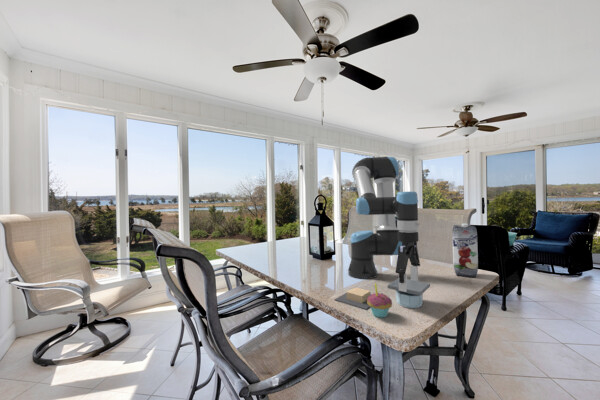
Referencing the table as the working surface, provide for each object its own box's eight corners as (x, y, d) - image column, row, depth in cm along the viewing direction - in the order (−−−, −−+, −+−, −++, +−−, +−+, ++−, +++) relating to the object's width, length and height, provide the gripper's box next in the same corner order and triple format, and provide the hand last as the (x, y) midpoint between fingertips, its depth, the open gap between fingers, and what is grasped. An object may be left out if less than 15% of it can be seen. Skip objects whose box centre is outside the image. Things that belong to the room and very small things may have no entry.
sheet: (387, 288, 97) (387, 285, 97) (399, 280, 106) (399, 277, 106) (420, 295, 89) (420, 292, 89) (430, 286, 98) (429, 283, 98)
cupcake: (382, 322, 83) (381, 286, 83) (362, 313, 90) (361, 280, 90) (397, 315, 88) (396, 281, 88) (377, 307, 95) (376, 275, 95)
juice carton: (452, 271, 137) (451, 222, 137) (476, 273, 132) (475, 222, 132) (454, 276, 129) (453, 223, 129) (478, 278, 125) (477, 224, 124)
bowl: (393, 303, 98) (392, 292, 97) (401, 296, 104) (401, 286, 104) (417, 310, 91) (417, 298, 91) (425, 302, 98) (424, 291, 98)
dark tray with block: (334, 300, 102) (334, 292, 102) (352, 290, 113) (352, 283, 112) (366, 309, 93) (365, 301, 93) (382, 298, 103) (382, 290, 103)
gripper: (406, 235, 86) (407, 298, 86) (427, 228, 104) (428, 280, 104) (385, 234, 91) (386, 293, 91) (408, 227, 109) (409, 276, 109)
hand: (408, 286), depth 98 cm, fingers closed on sheet, 12 cm apart
